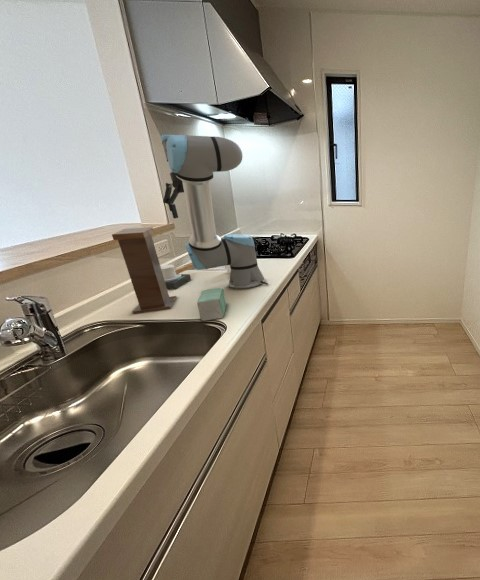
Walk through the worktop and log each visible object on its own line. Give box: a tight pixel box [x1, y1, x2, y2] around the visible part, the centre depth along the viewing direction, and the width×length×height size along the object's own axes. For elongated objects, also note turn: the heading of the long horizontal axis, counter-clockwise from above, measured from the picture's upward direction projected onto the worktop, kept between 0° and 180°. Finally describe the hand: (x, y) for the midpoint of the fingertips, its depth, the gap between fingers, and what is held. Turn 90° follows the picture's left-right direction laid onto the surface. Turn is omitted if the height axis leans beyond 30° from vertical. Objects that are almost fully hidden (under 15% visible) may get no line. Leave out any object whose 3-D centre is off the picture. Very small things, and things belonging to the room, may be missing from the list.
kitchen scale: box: [164, 273, 192, 290], centre depth 147 cm, size 13×13×4 cm
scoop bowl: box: [160, 262, 194, 279], centre depth 152 cm, size 21×7×5 cm, turn 172°
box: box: [196, 287, 227, 322], centre depth 117 cm, size 7×14×8 cm, turn 22°
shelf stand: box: [111, 226, 178, 315], centre depth 119 cm, size 12×12×30 cm
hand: (190, 217), depth 153 cm, fingers open, 13 cm apart
